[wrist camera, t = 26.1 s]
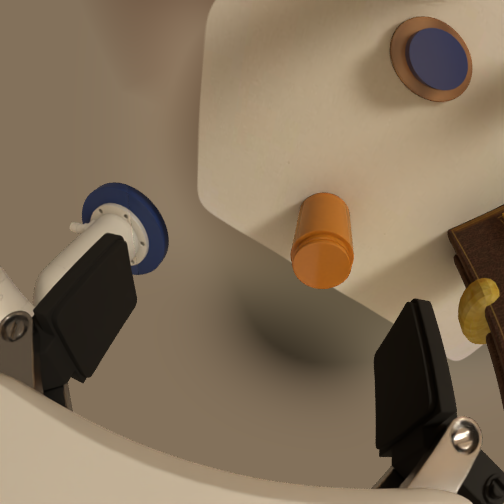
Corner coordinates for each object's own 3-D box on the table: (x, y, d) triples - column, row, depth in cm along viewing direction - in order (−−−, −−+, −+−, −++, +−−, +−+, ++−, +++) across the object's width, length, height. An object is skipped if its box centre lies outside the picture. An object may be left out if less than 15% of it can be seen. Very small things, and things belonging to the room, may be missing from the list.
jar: (297, 235, 39) (287, 288, 31) (299, 190, 36) (289, 235, 27) (346, 240, 38) (348, 294, 30) (352, 195, 34) (359, 242, 26)
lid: (472, 70, 21) (479, 71, 20) (432, 101, 25) (437, 103, 23) (434, 19, 19) (439, 16, 18) (392, 49, 23) (395, 48, 22)
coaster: (383, 84, 26) (384, 84, 26) (395, 4, 20) (396, 3, 20) (461, 113, 25) (463, 114, 24) (475, 38, 19) (477, 38, 18)
